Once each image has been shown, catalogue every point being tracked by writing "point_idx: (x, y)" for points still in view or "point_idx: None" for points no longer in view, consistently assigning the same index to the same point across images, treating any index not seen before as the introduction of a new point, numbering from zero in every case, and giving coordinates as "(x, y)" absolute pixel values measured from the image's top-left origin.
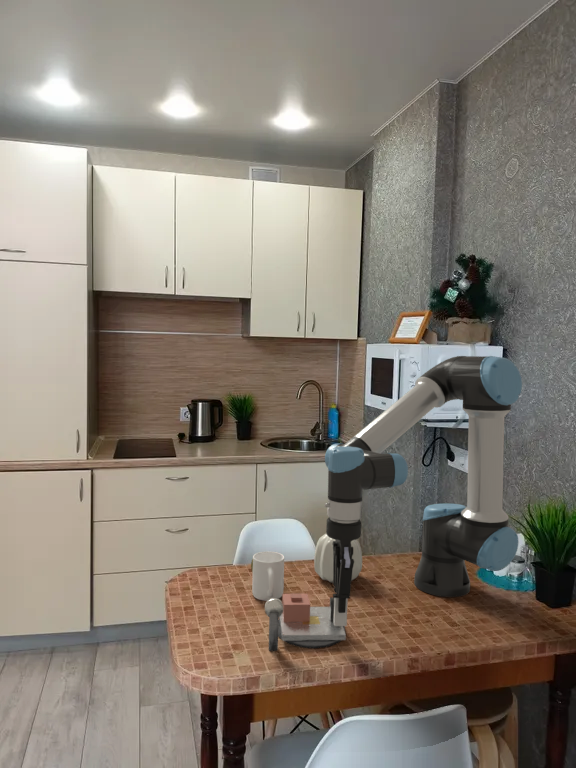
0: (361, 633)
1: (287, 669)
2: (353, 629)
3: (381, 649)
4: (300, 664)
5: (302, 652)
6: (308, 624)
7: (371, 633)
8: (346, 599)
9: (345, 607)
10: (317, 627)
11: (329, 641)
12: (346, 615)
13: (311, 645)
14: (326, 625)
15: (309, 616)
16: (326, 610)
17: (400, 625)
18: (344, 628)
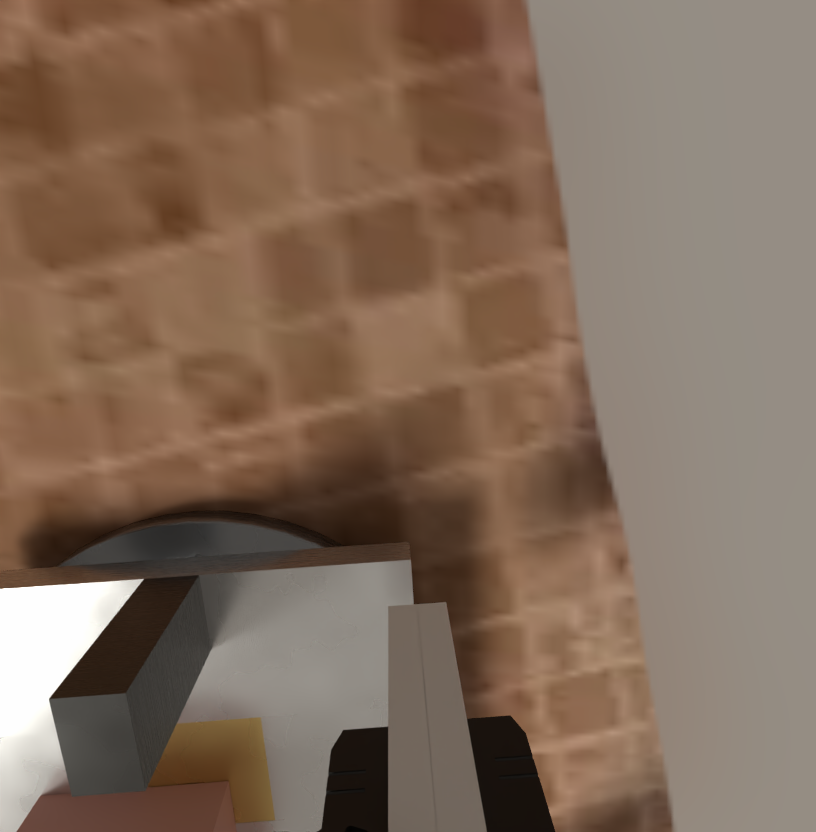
0: (223, 397)
1: (657, 825)
2: (168, 447)
3: (446, 287)
4: (614, 769)
5: None
6: (274, 788)
7: (214, 323)
8: (482, 815)
9: (534, 765)
10: (313, 736)
11: None
12: (456, 664)
13: None
14: (276, 678)
15: (218, 816)
16: (20, 667)
17: (36, 42)
18: (220, 528)
